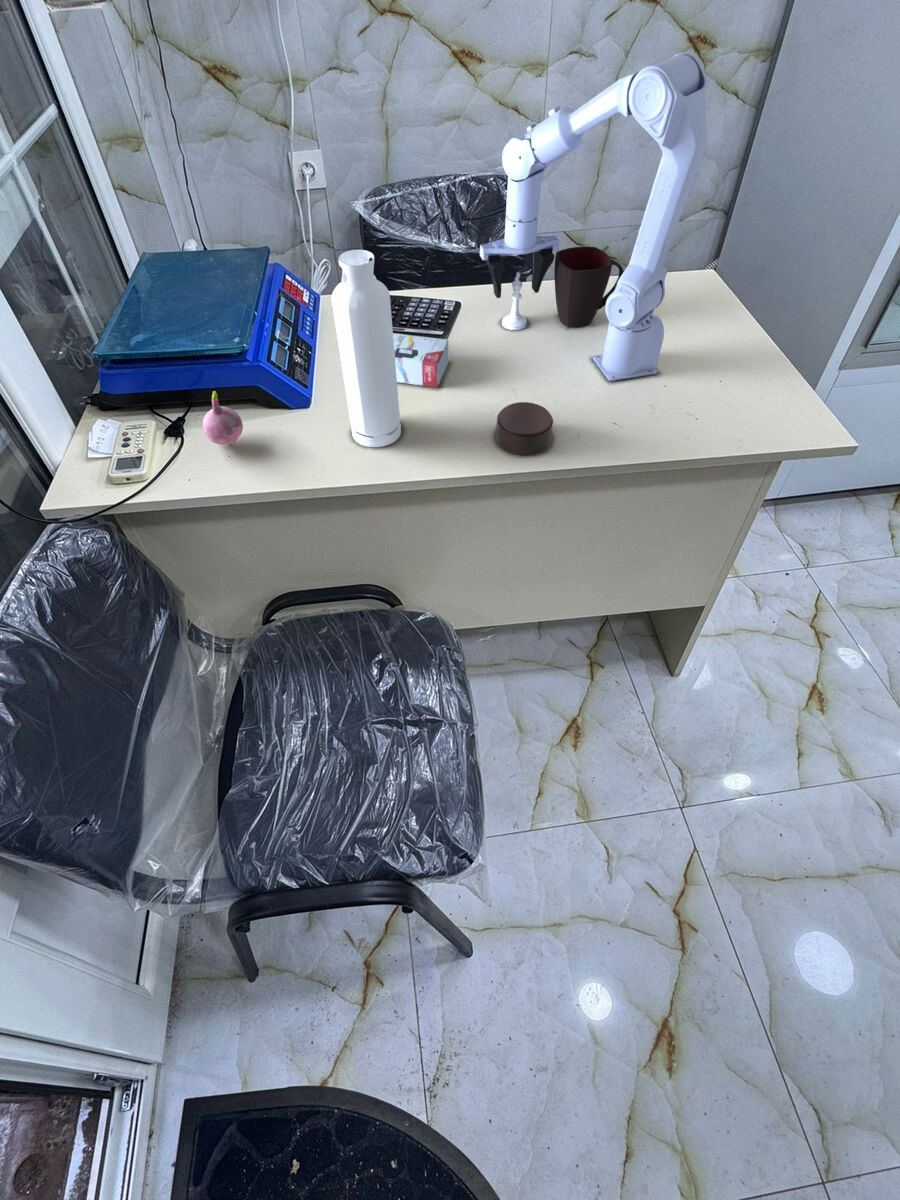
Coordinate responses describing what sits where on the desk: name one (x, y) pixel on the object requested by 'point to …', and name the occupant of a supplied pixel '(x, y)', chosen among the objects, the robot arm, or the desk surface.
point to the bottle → (367, 350)
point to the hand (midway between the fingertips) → (516, 292)
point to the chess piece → (515, 308)
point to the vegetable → (222, 424)
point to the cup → (582, 284)
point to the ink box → (420, 359)
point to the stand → (524, 428)
